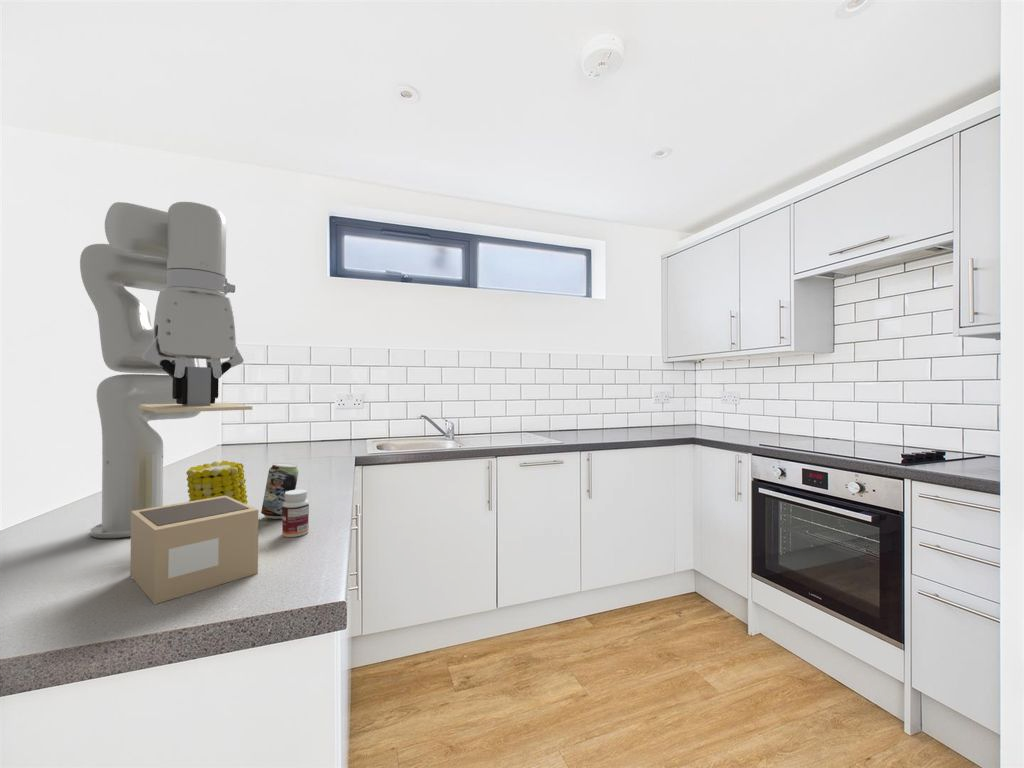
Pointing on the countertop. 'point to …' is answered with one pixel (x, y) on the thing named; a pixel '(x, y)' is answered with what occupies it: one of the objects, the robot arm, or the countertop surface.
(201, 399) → the flap
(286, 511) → the pill bottle
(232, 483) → the food
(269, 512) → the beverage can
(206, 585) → the carton
